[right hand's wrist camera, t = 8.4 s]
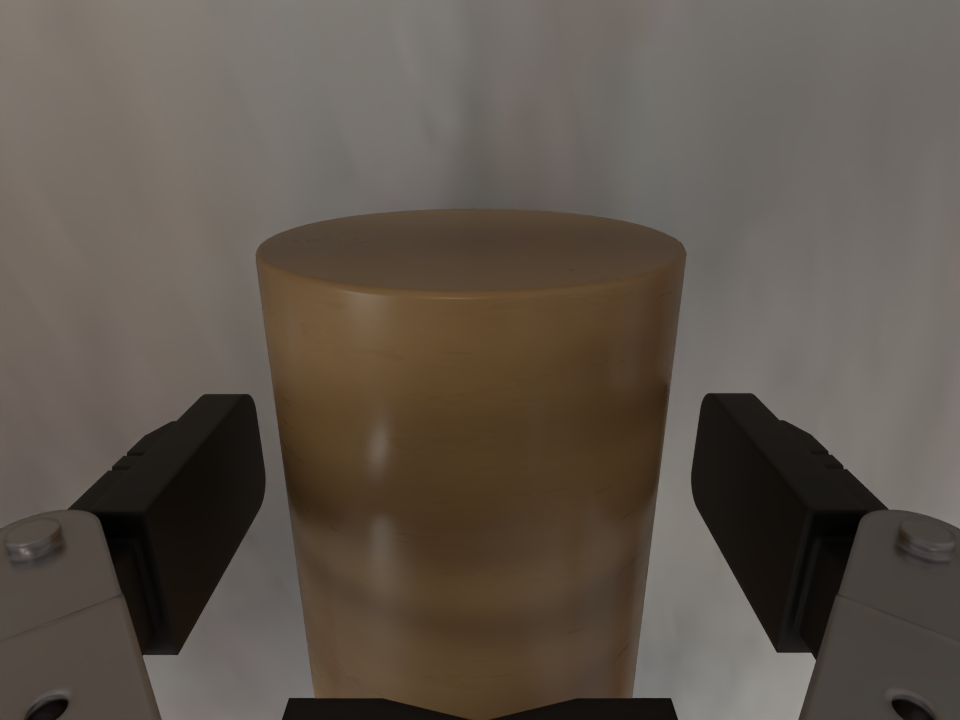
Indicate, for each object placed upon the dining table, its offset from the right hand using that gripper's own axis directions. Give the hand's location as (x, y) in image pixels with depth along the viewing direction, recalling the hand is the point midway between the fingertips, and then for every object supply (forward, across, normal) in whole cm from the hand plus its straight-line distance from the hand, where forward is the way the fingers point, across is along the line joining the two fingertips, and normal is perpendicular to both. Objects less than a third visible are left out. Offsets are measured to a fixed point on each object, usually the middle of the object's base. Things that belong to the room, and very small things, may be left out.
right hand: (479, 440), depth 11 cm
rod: (+3, 0, -9) cm, 9 cm away
